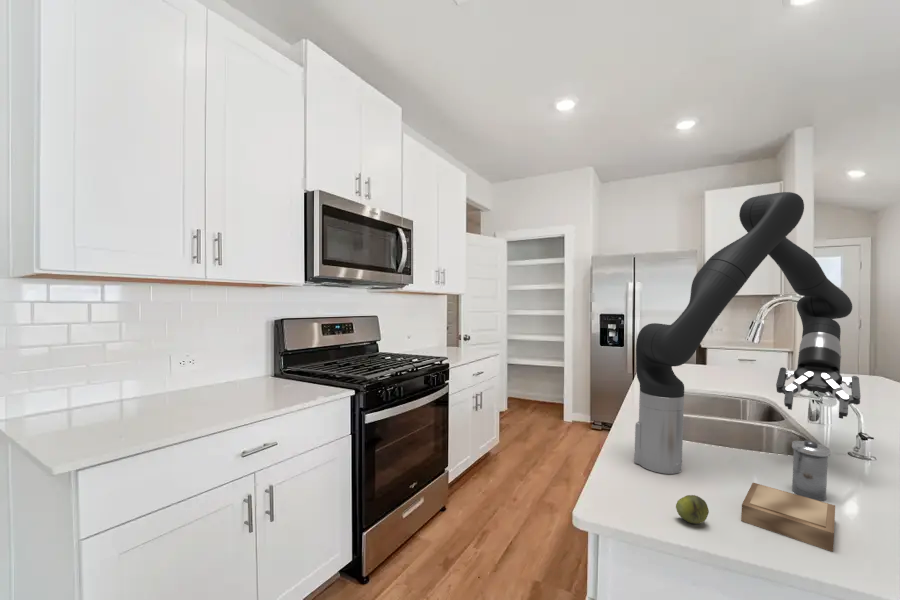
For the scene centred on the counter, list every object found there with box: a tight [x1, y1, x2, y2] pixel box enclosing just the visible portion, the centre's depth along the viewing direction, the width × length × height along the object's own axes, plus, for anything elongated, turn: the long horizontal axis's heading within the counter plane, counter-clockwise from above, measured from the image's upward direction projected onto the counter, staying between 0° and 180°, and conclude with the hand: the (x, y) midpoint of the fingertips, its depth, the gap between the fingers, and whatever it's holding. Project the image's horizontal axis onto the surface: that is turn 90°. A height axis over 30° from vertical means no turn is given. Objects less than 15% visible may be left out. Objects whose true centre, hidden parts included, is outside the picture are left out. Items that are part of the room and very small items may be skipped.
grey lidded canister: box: [791, 439, 831, 502], centre depth 83 cm, size 6×6×11 cm
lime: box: [675, 494, 710, 524], centre depth 72 cm, size 4×5×5 cm
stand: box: [740, 482, 836, 553], centre depth 73 cm, size 12×12×3 cm
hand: (814, 411), depth 91 cm, fingers open, 8 cm apart
